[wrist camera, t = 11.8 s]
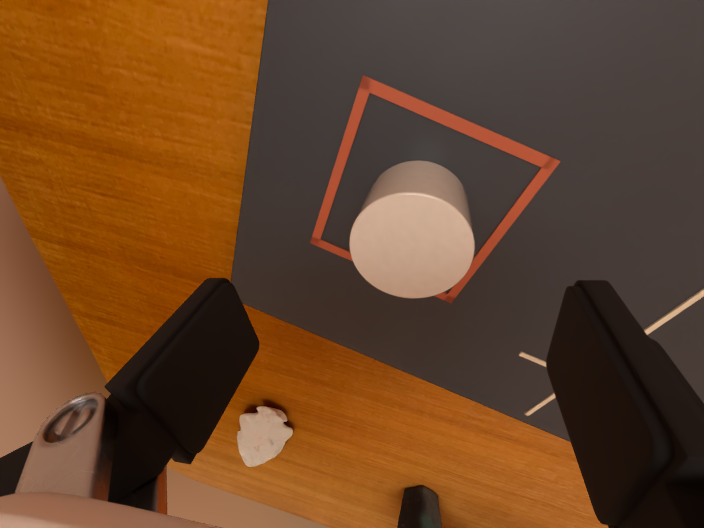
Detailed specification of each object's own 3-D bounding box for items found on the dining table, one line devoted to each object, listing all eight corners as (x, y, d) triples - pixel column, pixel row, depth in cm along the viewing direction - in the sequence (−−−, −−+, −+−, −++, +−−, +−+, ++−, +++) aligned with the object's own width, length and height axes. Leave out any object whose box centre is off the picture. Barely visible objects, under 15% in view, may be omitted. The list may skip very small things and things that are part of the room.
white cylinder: (360, 164, 15) (339, 196, 12) (470, 155, 14) (479, 188, 11) (372, 252, 18) (357, 297, 15) (465, 251, 17) (471, 301, 14)
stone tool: (250, 385, 32) (233, 450, 40) (241, 404, 30) (224, 468, 39) (304, 405, 32) (275, 465, 41) (297, 425, 30) (269, 484, 39)
